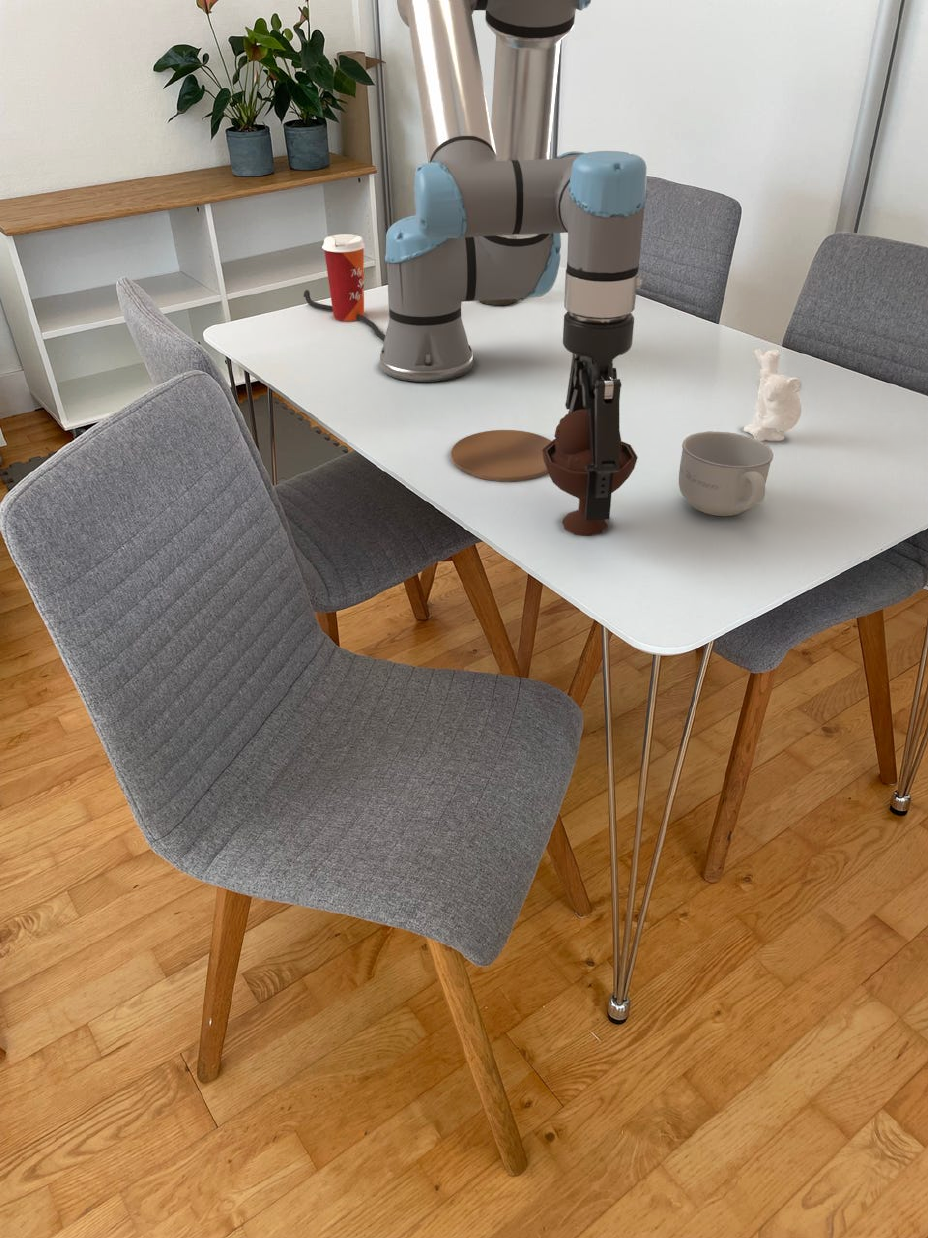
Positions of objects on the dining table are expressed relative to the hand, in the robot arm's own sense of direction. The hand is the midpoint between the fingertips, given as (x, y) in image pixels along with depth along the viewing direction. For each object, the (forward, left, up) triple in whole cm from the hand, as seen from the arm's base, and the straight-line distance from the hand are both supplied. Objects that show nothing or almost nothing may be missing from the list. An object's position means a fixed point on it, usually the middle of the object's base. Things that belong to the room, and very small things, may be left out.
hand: (586, 494), depth 120 cm
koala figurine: (+6, +37, -4) cm, 38 cm away
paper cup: (-78, +38, -4) cm, 87 cm away
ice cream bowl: (0, 0, -4) cm, 4 cm away
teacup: (+11, +14, -4) cm, 18 cm away
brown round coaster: (-19, +9, -4) cm, 21 cm away
